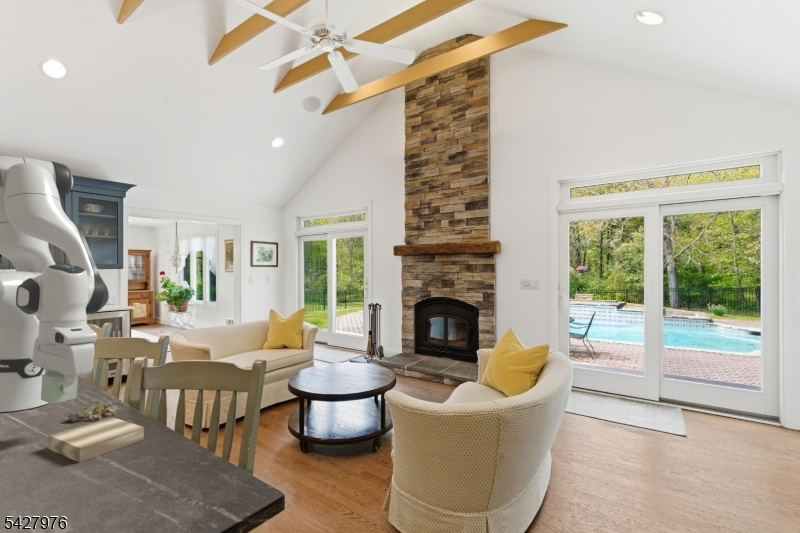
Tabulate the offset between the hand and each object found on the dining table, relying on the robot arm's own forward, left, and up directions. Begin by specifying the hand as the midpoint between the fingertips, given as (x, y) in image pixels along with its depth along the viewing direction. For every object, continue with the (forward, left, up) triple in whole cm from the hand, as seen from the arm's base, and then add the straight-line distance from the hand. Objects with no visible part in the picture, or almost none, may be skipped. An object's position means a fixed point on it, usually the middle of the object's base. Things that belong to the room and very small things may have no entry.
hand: (59, 389), depth 95 cm
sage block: (0, 0, -2) cm, 2 cm away
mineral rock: (-6, +11, -12) cm, 17 cm away
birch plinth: (+14, +2, -11) cm, 18 cm away
